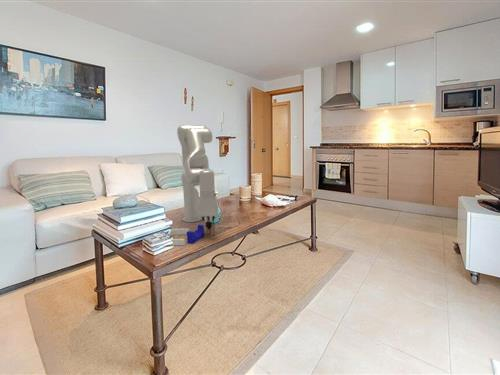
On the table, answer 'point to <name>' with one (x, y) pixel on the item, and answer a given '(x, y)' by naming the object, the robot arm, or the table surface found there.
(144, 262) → the table surface
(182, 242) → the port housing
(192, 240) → the cable clip
